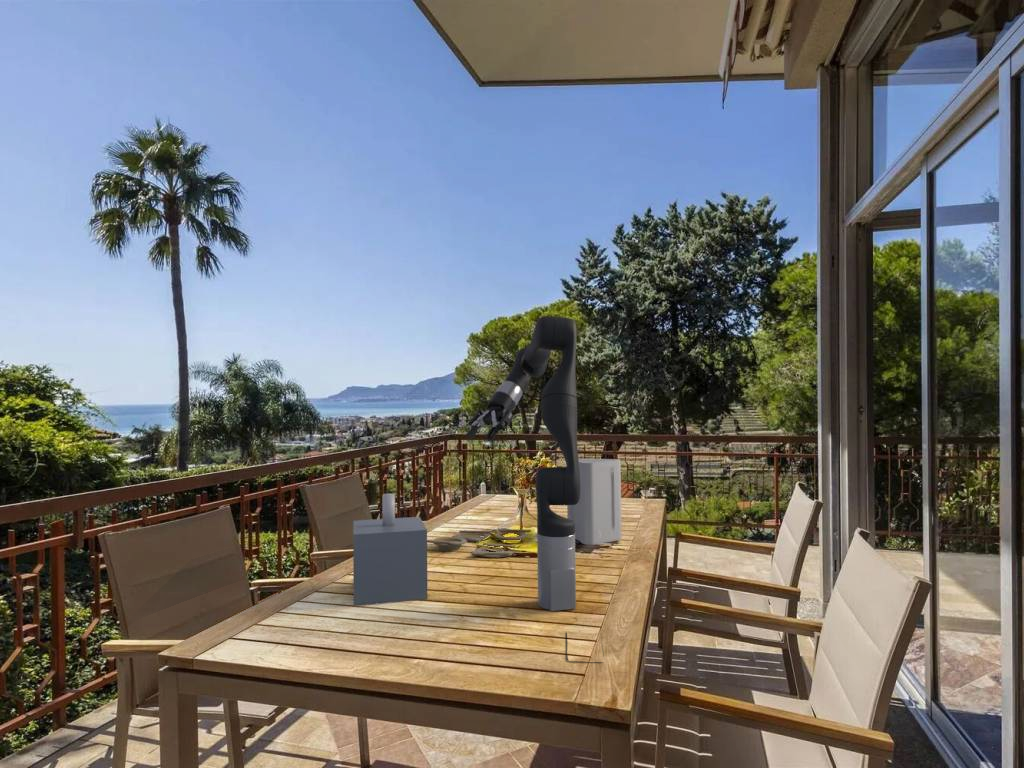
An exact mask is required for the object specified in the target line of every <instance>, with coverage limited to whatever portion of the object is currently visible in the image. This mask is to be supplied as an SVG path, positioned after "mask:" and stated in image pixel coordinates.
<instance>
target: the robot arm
mask: <svg viewBox="0 0 1024 768" xmlns="http://www.w3.org/2000/svg"><path fill="white" fill-rule="evenodd" d="M576 323H577V322H576V321H575V320H574V319H573V318H570V317H563V316H553V315H552V316H551V315H543V316H541V317H539V319H538V320H537V321H536V324H535V326H534V329H533V333H532V336H531V339H530V340H531V341H530V344H529V346H525V347H522V348H521V349H519V350H518V351H517V353H516V355H515V358H514V361H513V364H512V368H511V369H510V372H509V374H508V375H507V376H506V378H505V380H504V381H503V382H502V383H501V384H500V385H499V387H497V389H496V391H495V392H494V394H493V395H492V397H491V398H490V399H489V401H488V403H487V408H486V410H485V411H482V410H481V409H478V411H476V412H475V414H474V415H473V417H472V418H471V419H470V421H469V422H468V425H469V426H470V428H469V429H468V431H467V433H466V434H465V435H466V437H467V439H468V440H473V439H474V437H475V435H477V433H478V431H479V430H481V429H482V428H483V429H484V428H486V427H487V426H491V427H490V429H489V430H488V432H487V433H486V435H485V438H486V440H487V441H488V442H492V441H493V439H495V437H496V435H497V434H498V433H499V432H501V431H503V432H504V431H506V429H507V428H508V427H509V425H510V423H511V422H512V420H513V418H514V415H513V414H512V412H513V411H514V409H515V408H516V406H517V405H518V404H519V401H520V400H521V398H522V396H523V394H524V393H525V391H526V390H527V388H528V387H529V385H530V381H531V380H530V377H529V376H531V377H533V378H539V377H541V376H542V375H543V374H544V373H545V371H547V370H546V369H547V367H548V360H549V358H550V357H551V355H552V351H553V352H561V353H562V357H561V361H560V363H559V365H558V367H557V369H556V370H555V372H554V374H553V375H552V376H551V378H550V379H549V380H548V381H547V382H546V384H545V386H544V387H543V389H542V392H541V397H540V399H541V400H540V402H541V403H540V405H541V408H540V410H541V413H540V414H541V420H542V422H543V425H544V427H545V428H546V429H547V431H548V432H549V434H550V435H551V437H553V439H554V440H555V442H556V444H557V446H558V447H559V448H560V451H561V453H562V455H563V458H564V460H565V465H566V466H546V467H545V466H544V467H543V466H542V467H539V468H538V469H537V471H536V473H535V496H536V507H537V508H536V513H537V515H536V517H537V520H536V521H537V523H536V525H537V526H536V527H537V528H536V529H537V530H536V531H537V532H536V533H537V534H536V537H537V538H536V539H537V544H536V545H537V546H536V547H537V551H536V553H537V556H536V557H537V604H538V606H539V607H540V608H543V609H545V610H549V611H550V612H557V611H565V610H576V606H577V594H576V593H577V589H576V588H577V586H576V585H577V584H576V574H577V573H576V540H575V524H574V522H573V521H572V520H570V519H568V518H567V517H564V516H561V515H560V514H557V513H556V512H554V511H553V510H552V509H551V508H550V506H567V505H576V504H577V503H578V502H579V499H580V492H581V486H580V472H579V460H578V459H579V452H578V450H579V449H578V397H577V379H576V377H577V376H576V360H577V358H576V357H577V341H578V340H577V336H578V334H577V333H578V332H577V324H576ZM528 375H529V376H528Z"/></svg>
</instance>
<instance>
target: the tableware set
mask: <svg viewBox="0 0 1024 768" xmlns="http://www.w3.org/2000/svg"><path fill="white" fill-rule="evenodd" d="M491 533H492V530H488V529H486V530H462V529H461V530H459V531H458V533H456V534H454V535H451V536H445V537H438V538H435V539H427V544H428V543H429V544H433V545H436V546H437V547H438V549H439V550H440V551H442V552H455V551H458V550H460V549H461V548H462V545H465V544H466V543H467V542H477V543H479V542H478V541H480V542H482V541H481V539H485V538H487V537H488V536H489V534H491ZM508 533H514V534H517V535H519V536H517V537H504V536H503V535H505V534H508ZM528 533H532V529H511V528H498V531H497V532H496V533H495V534H494V537H495V538H496V539H499V540H500V539H501V540H520V539H522V540H523V539H525V538H527V537H528ZM479 536H484V537H482V538H478V537H479ZM484 545H487V546H494V547H500V546H503V547H510V548H513V549H516V548H517V546H516V545H514V544H505V543H502V544H501V543H492V542H482V546H480V547H478V548H475V549H473V550H472V553H471V555H474V556H478V557H482V558H483V557H484V558H491V559H492V558H493V559H494V558H506V557H510V556H513V555H514V554H513V552H489V551H486V548H485V547H486V546H484ZM512 554H513V555H512Z"/></svg>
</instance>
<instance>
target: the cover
mask: <svg viewBox="0 0 1024 768" xmlns="http://www.w3.org/2000/svg"><path fill="white" fill-rule="evenodd" d="M352 527H353V532H352V534H353V535H352V537H353V540H352V541H353V545H352V547H353V548H352V549H353V555H352V556H353V557H352V558H353V563H352V564H353V569H352V570H353V573H352V575H353V580H352V583H353V584H352V585H353V586H352V587H353V607H357V606H356V605H358V606H367V605H366V604H368V605H376V603H379V604H389V602H390V603H400V602H409V601H421V600H428V543H427V540H428V530H427V527H426V525H425V524H424V522H423V520H422V518H421V517H420V516H413V517H410V516H409V517H396V494H395V493H383V494H382V518H375V519H374V518H373V519H360V520H353V526H352Z"/></svg>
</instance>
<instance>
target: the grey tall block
mask: <svg viewBox="0 0 1024 768" xmlns="http://www.w3.org/2000/svg"><path fill="white" fill-rule="evenodd" d="M578 460H579V472H580V486H581V492H580V499H579V502H578V503H577V504H576V505H566V506H567V507H566V508H567V517H566V518H568V519H570V520H572V521H573V522H574V524H575V539H577V540H579V541H580V542H581V544H583V545H585V546H595V545H601V544H605V543H611V542H614V541H615V542H616V541H620V540H621V539H622V537H623V536H622V535H623V534H622V488H621V486H622V484H621V483H622V480H621V478H622V476H621V475H622V473H621V459H620V458H619V459H618V458H578ZM580 542H579V543H580Z"/></svg>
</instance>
